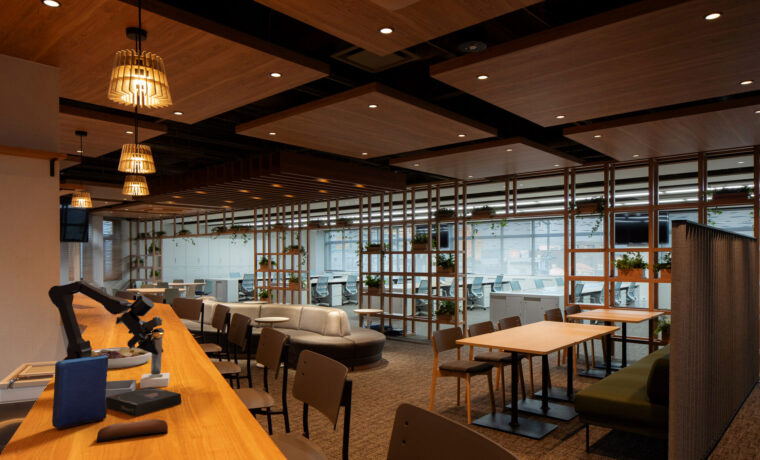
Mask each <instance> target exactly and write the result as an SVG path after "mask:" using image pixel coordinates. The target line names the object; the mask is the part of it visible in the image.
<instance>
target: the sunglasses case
mask: <svg viewBox="0 0 760 460" xmlns="http://www.w3.org/2000/svg"><path fill="white" fill-rule="evenodd" d="M168 425H169V424H168V423H167V421H166V420H164V419H158V418H157V419H156V418H149V419H144V420H140V421H139V420H138V421H131V422H119V423H118V422H116V423H113V424H109V425H107V426H104V427H102V428H100V429H99V430H98V432H97V436H96V443H100V442H104V441H105V442H106V441H109V440H115V439H120V438H123V437H124V438H125V437H134V436H140V435H151V434H156V433H166V434H168V433H169V432H168V431H169V429H168V428H169V426H168Z"/></svg>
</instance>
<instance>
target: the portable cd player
mask: <svg viewBox="0 0 760 460" xmlns="http://www.w3.org/2000/svg"><path fill="white" fill-rule="evenodd" d="M182 401H183V400H182V395H181V393H178V392H175V391H170V390H166V389H162V388H158V387H146V388H140V389H136V390H134V391H130V392H126V393H121V394H117V395H113V396H109V397H106V403H107V410H108V409H109V410H112V411H114V412H118V413H122V414H124V415H129V416H132V417H134V418H136V417H139V416H143V415H146V414H150V413H153V412H157V411H160V410H164V409H168V408H171V407H172V408H173V407H174V406H179V405H181V404H182Z"/></svg>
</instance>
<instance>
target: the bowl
mask: <svg viewBox="0 0 760 460" xmlns="http://www.w3.org/2000/svg"><path fill="white" fill-rule="evenodd" d="M137 347H138V346H135V347H134V348H132V349H130V348H129V347H128V346H122V347H121V346H120V347H117V346H116V347H108V348H107V347H106V348H100V349H99V348H98V349H93V350H91V351H92V355H91V356H90V357H94V356H98V355H102V354H104V355H106V356H108V368H107V370H108V369H123V368H132V367H136V366H139V365H143V364H146V363H147V362H149V360H151V359H152V353H150V352H148V351H145V350H142V349H139V348H137Z"/></svg>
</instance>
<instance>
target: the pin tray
mask: <svg viewBox="0 0 760 460" xmlns="http://www.w3.org/2000/svg"><path fill="white" fill-rule="evenodd" d="M106 383H107V384H106V397H109V396H113V395H117V394H121V393H126V392H130V391H134V390H137V379H125V380H124V379H123V380H122V379H121V380H109V381H108V380H107V382H106ZM106 397H105V400H106Z"/></svg>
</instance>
